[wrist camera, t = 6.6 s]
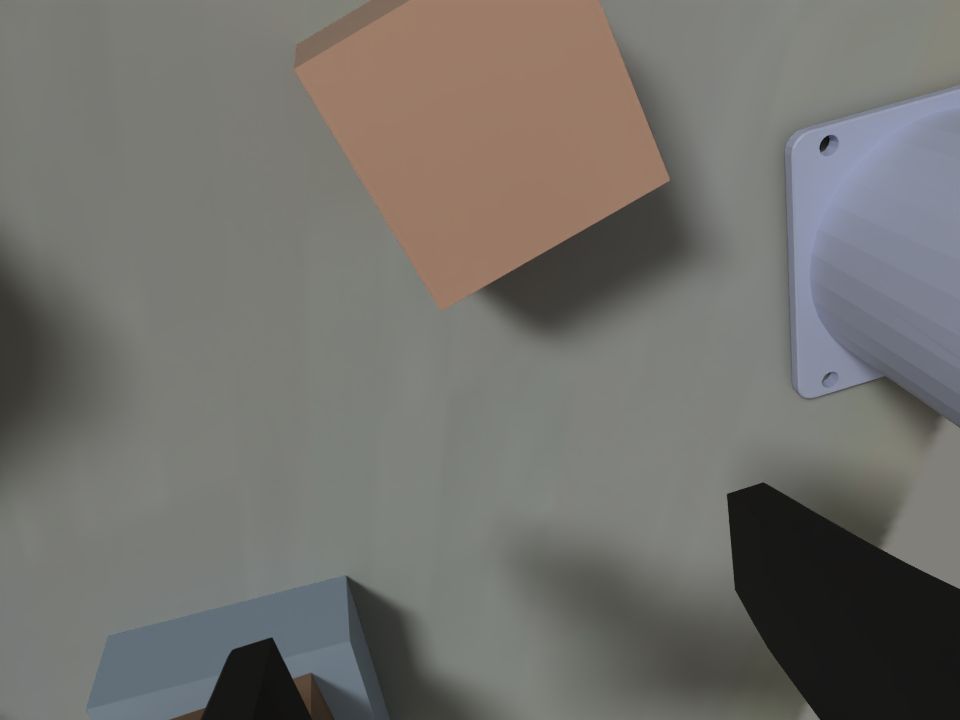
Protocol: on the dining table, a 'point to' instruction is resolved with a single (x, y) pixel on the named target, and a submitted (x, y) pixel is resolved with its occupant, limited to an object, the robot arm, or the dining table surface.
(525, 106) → the terracotta block
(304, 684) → the walnut block
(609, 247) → the dining table surface
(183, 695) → the blue slab
